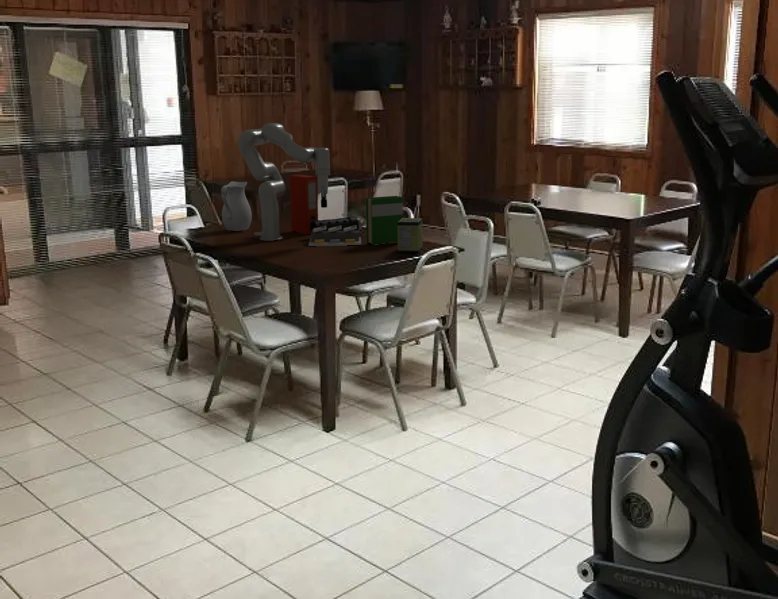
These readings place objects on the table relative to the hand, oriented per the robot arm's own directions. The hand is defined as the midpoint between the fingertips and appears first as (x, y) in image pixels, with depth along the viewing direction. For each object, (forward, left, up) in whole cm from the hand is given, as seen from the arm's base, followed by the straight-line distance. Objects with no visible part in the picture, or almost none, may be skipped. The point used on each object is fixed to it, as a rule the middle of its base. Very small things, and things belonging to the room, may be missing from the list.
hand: (324, 207), depth 443 cm
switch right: (+13, 0, -12) cm, 18 cm away
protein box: (+43, -29, -19) cm, 55 cm away
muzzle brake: (+5, +20, -19) cm, 28 cm away
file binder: (-13, +37, -19) cm, 44 cm away
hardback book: (+31, -5, -19) cm, 37 cm away
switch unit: (+5, -1, -19) cm, 20 cm away
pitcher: (-54, +45, -19) cm, 73 cm away
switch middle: (+5, 0, -12) cm, 13 cm away
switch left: (-3, 0, -12) cm, 12 cm away
